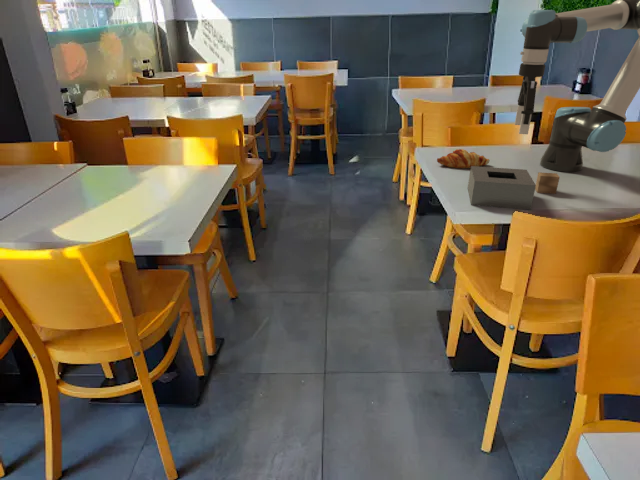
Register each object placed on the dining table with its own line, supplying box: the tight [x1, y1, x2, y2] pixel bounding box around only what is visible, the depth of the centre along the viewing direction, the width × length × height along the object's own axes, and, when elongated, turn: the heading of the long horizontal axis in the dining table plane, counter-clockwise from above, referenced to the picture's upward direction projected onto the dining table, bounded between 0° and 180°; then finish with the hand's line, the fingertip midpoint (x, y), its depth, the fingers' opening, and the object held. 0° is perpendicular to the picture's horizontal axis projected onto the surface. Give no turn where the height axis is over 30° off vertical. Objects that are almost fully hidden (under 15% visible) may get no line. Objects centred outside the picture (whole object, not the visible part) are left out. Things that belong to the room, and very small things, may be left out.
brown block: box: [535, 172, 560, 195], centre depth 165 cm, size 6×4×6 cm, turn 78°
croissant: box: [436, 148, 490, 169], centre depth 192 cm, size 21×10×8 cm, turn 96°
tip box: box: [467, 166, 536, 211], centre depth 158 cm, size 18×16×8 cm
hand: (520, 129), depth 165 cm, fingers open, 13 cm apart
